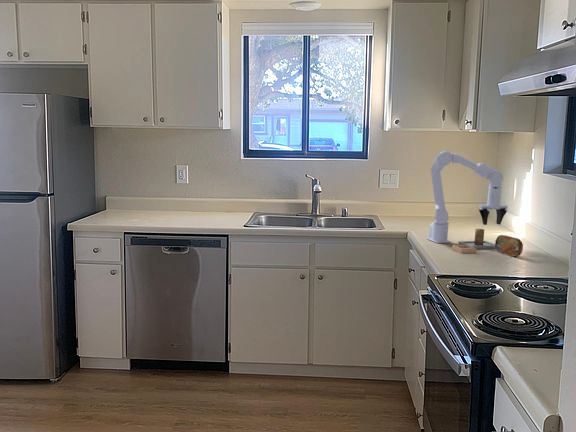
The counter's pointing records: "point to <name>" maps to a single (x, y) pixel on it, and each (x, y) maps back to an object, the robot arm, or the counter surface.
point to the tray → (485, 246)
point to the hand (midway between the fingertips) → (491, 224)
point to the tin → (509, 245)
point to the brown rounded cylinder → (479, 237)
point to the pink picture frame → (464, 248)
